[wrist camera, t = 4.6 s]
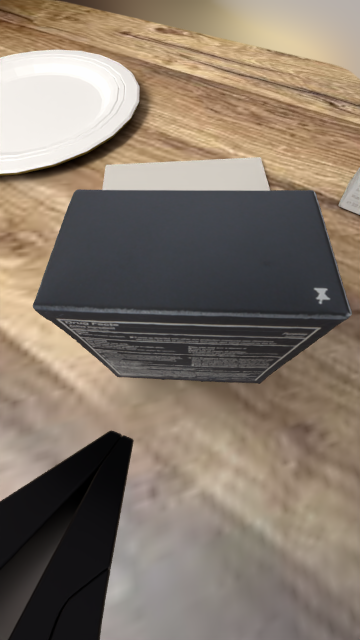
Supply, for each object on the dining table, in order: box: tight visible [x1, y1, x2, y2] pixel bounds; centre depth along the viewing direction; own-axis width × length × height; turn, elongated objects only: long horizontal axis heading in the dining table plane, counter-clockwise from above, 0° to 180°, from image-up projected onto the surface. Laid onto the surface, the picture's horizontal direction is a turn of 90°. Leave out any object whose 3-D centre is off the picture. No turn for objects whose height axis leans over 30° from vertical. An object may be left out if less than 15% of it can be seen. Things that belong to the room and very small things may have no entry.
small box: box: [33, 190, 352, 384], centre depth 14 cm, size 11×6×10 cm, turn 87°
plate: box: [0, 50, 140, 175], centre depth 32 cm, size 29×29×2 cm
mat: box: [102, 157, 270, 191], centre depth 23 cm, size 16×17×1 cm
